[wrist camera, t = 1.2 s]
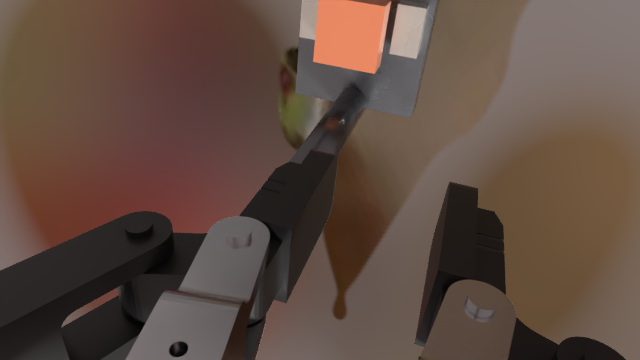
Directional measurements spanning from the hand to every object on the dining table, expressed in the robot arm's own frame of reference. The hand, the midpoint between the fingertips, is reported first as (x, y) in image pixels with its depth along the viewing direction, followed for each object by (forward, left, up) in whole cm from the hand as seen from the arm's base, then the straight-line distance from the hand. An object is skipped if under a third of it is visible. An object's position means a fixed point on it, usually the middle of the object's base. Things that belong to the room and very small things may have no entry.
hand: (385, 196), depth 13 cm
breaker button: (+2, -6, -24) cm, 25 cm away
